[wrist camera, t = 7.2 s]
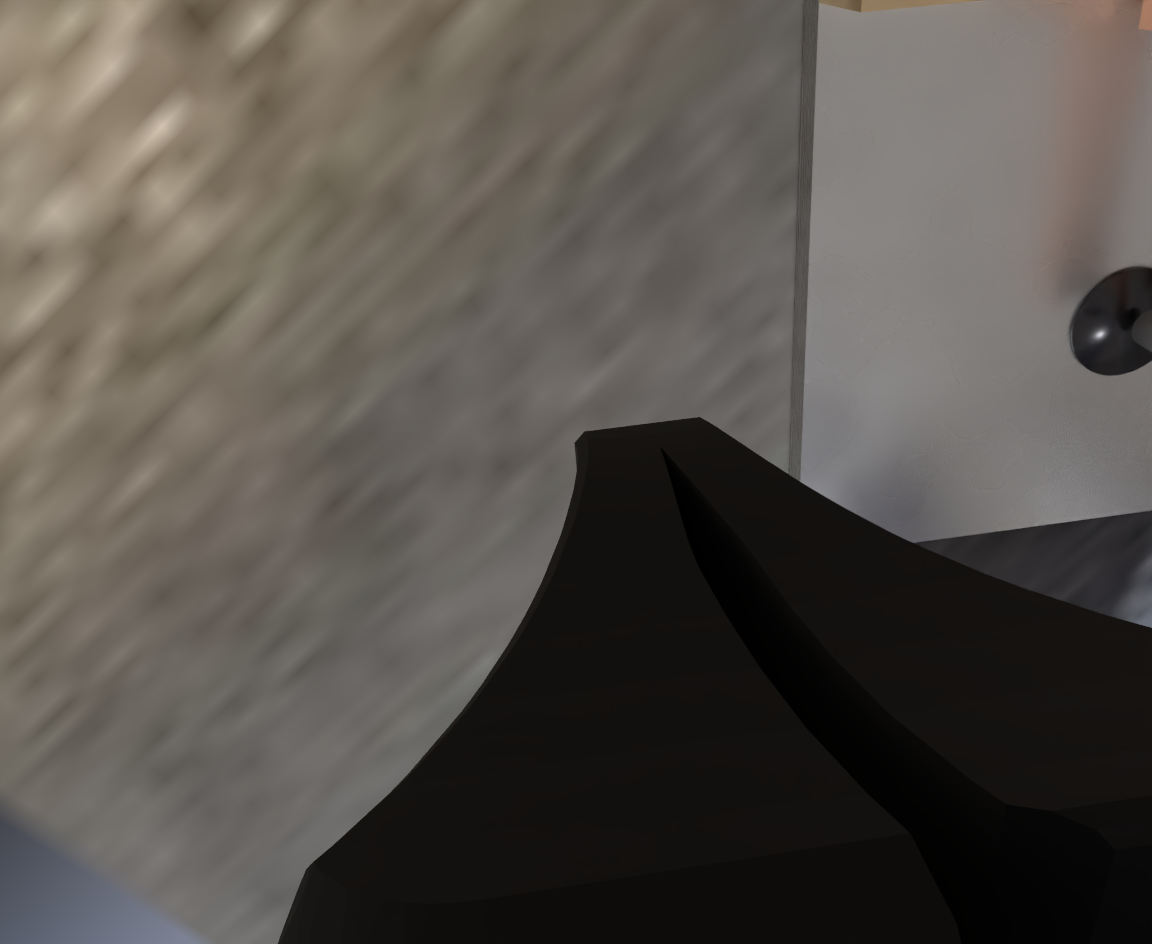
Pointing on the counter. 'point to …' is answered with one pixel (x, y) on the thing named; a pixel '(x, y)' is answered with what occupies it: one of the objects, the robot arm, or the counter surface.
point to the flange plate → (974, 264)
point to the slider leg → (1148, 327)
